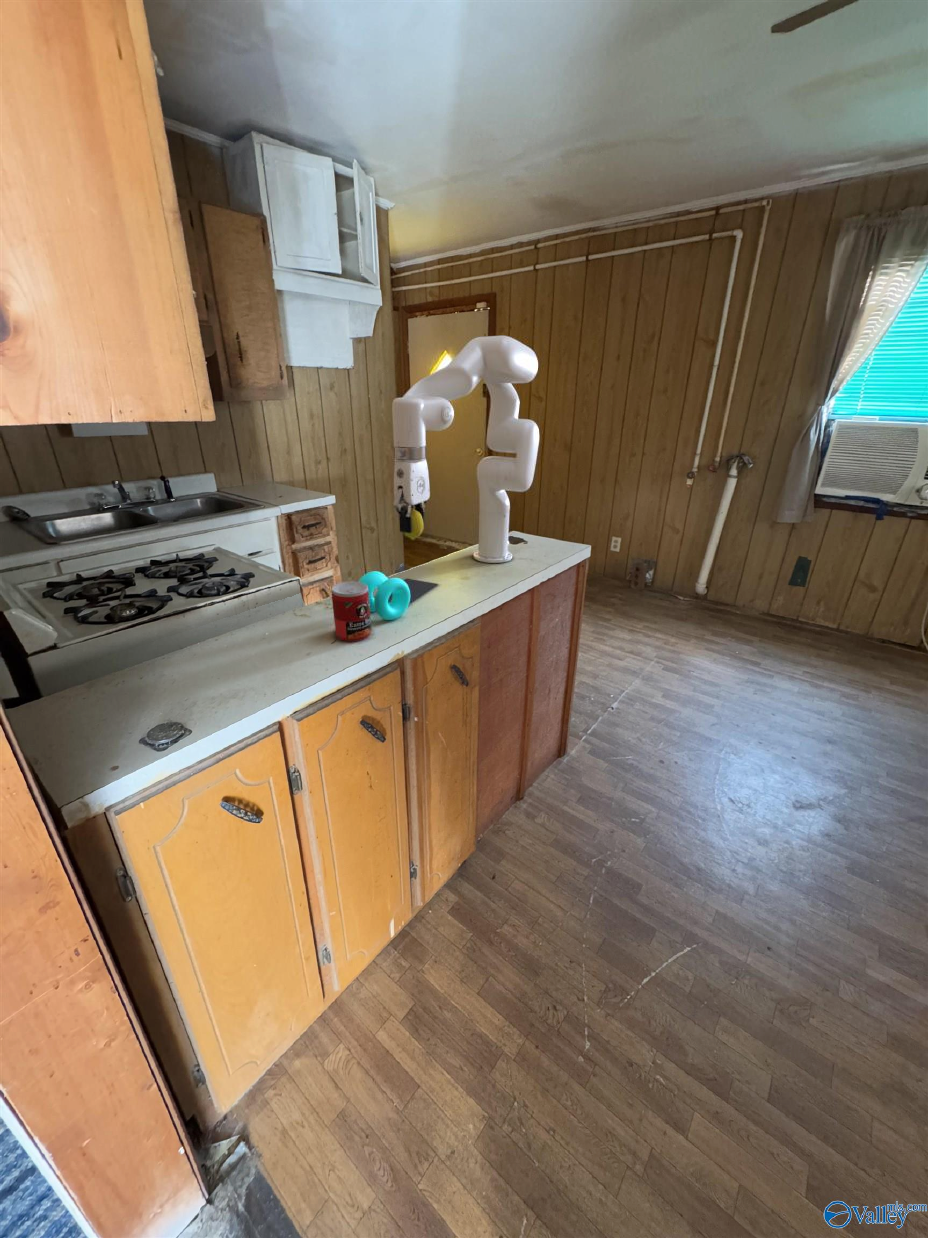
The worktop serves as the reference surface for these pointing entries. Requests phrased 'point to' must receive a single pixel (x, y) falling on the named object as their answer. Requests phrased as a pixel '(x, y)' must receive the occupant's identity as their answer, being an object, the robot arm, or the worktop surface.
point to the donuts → (386, 595)
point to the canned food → (351, 610)
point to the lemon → (415, 524)
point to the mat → (416, 589)
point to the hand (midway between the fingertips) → (412, 528)
